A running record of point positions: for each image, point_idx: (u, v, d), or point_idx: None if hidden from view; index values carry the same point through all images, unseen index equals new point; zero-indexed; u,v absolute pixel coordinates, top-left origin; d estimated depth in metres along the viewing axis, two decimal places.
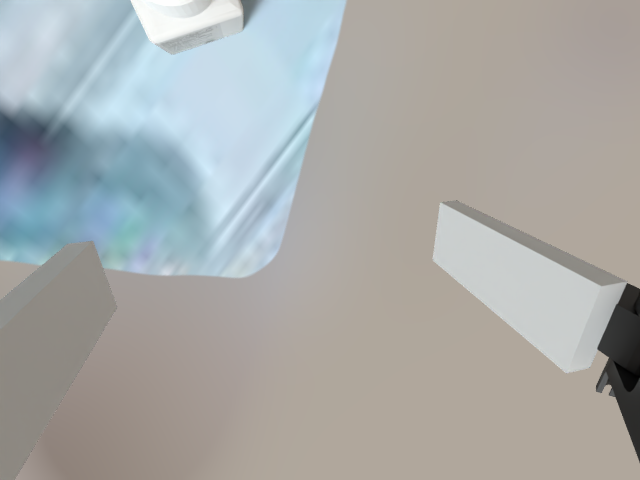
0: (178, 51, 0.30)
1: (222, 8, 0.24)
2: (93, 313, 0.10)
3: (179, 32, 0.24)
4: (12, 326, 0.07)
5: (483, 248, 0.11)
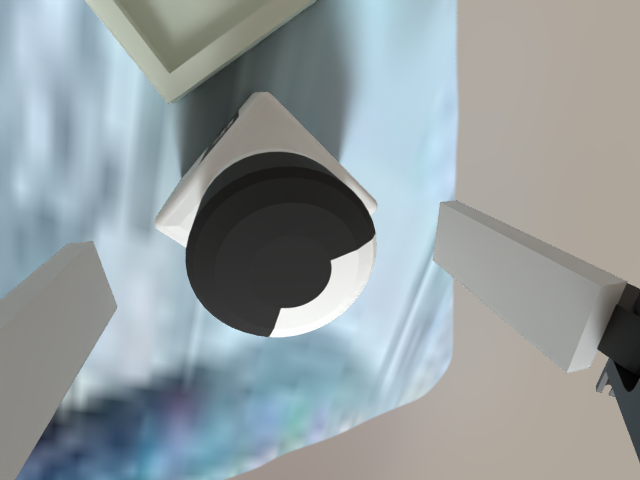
0: None
1: None
2: (93, 313, 0.10)
3: None
4: (12, 326, 0.07)
5: (483, 248, 0.11)
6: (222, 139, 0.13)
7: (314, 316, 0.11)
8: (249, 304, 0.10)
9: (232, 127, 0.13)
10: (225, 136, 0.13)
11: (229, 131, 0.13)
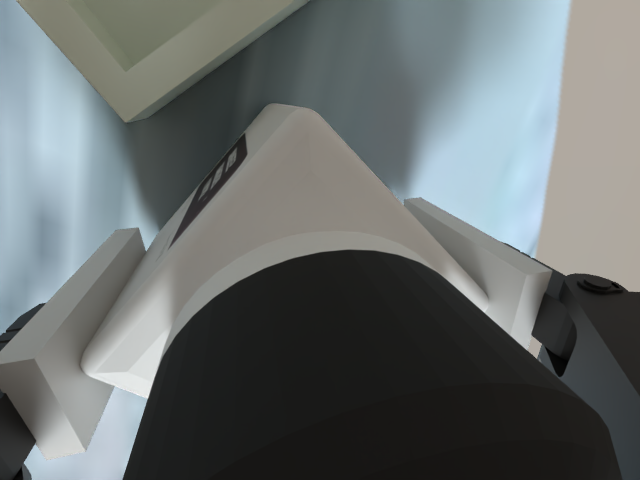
0: None
1: None
2: None
3: None
4: (90, 295, 0.08)
5: (438, 242, 0.11)
6: (214, 206, 0.06)
7: None
8: None
9: (234, 182, 0.06)
10: (220, 200, 0.06)
11: (228, 190, 0.06)
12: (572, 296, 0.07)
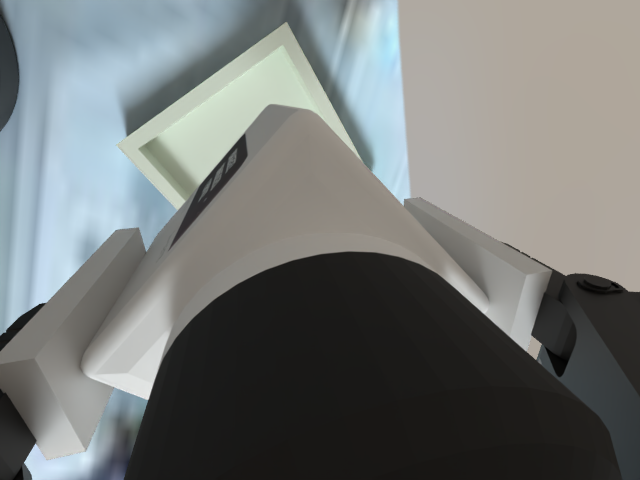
0: None
1: None
2: None
3: None
4: (90, 295, 0.08)
5: (438, 242, 0.11)
6: (214, 207, 0.06)
7: None
8: None
9: (235, 183, 0.06)
10: (220, 202, 0.06)
11: (229, 191, 0.06)
12: (572, 296, 0.07)
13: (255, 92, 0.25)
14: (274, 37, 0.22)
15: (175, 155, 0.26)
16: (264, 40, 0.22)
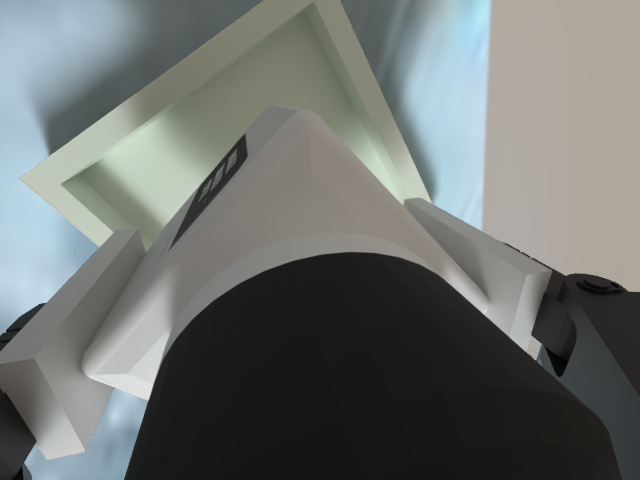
0: None
1: None
2: None
3: None
4: (90, 295, 0.08)
5: (438, 242, 0.11)
6: (214, 207, 0.06)
7: None
8: None
9: (235, 183, 0.06)
10: (220, 202, 0.06)
11: (229, 192, 0.06)
12: (572, 296, 0.07)
13: (263, 86, 0.15)
14: None
15: (132, 189, 0.16)
16: None
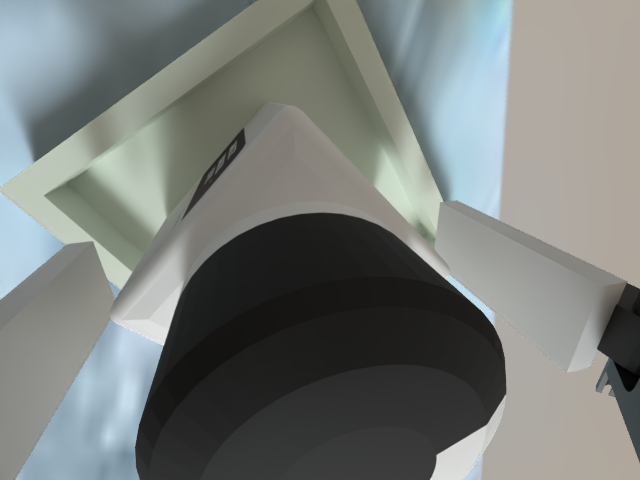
0: None
1: None
2: (93, 313, 0.10)
3: None
4: (12, 326, 0.07)
5: (483, 248, 0.11)
6: (219, 183, 0.08)
7: None
8: None
9: (235, 164, 0.08)
10: (224, 179, 0.08)
11: (230, 171, 0.08)
12: None
13: (266, 88, 0.14)
14: None
15: (125, 199, 0.15)
16: None
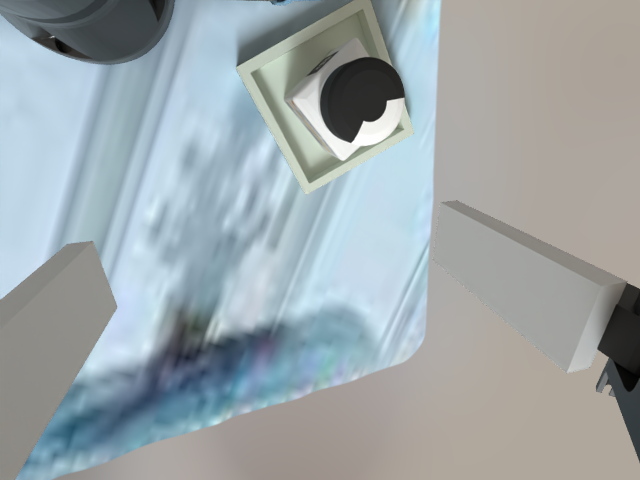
0: None
1: None
2: (93, 313, 0.10)
3: (360, 145, 0.31)
4: (12, 326, 0.07)
5: (483, 248, 0.11)
6: (333, 58, 0.28)
7: (375, 130, 0.25)
8: (351, 115, 0.25)
9: (338, 52, 0.28)
10: (334, 56, 0.28)
11: (337, 54, 0.28)
12: None
13: (334, 44, 0.34)
14: (357, 2, 0.31)
15: (269, 85, 0.34)
16: (351, 3, 0.31)
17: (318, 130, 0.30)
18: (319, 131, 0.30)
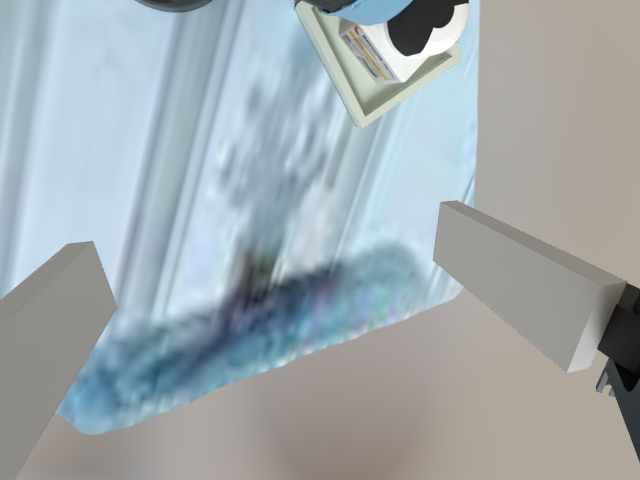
0: None
1: None
2: (93, 313, 0.10)
3: (419, 65, 0.33)
4: (12, 326, 0.07)
5: (483, 248, 0.11)
6: None
7: (443, 37, 0.28)
8: (423, 23, 0.27)
9: None
10: None
11: None
12: None
13: None
14: None
15: (325, 21, 0.36)
16: None
17: (381, 52, 0.32)
18: (382, 53, 0.32)
